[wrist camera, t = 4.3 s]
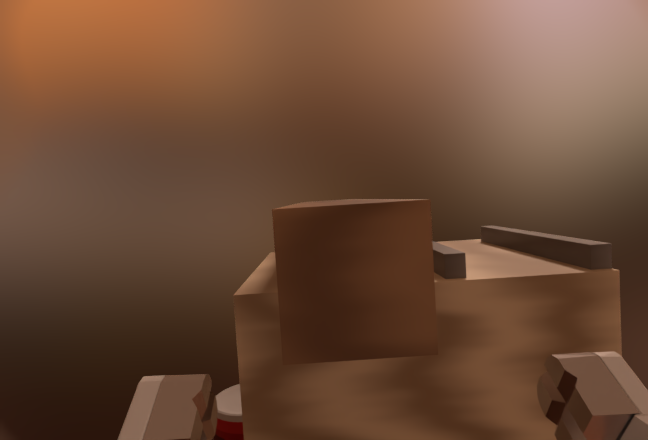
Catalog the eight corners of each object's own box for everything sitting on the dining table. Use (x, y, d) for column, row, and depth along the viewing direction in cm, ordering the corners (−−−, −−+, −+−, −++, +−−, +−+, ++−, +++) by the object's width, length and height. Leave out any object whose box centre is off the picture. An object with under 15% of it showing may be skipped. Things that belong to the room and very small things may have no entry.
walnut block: (283, 365, 11) (272, 209, 11) (306, 251, 35) (303, 202, 35) (438, 354, 11) (430, 199, 11) (355, 248, 35) (353, 199, 35)
